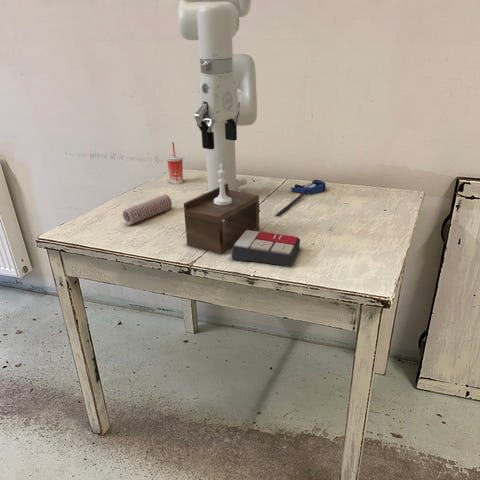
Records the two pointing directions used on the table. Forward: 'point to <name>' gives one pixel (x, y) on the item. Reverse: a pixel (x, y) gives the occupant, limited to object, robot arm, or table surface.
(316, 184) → the bar clamp
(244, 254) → the grey and red box
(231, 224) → the brown wooden cabinet
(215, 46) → the robot arm
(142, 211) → the coil
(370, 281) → the table surface
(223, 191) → the chess piece
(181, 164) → the beverage cup
